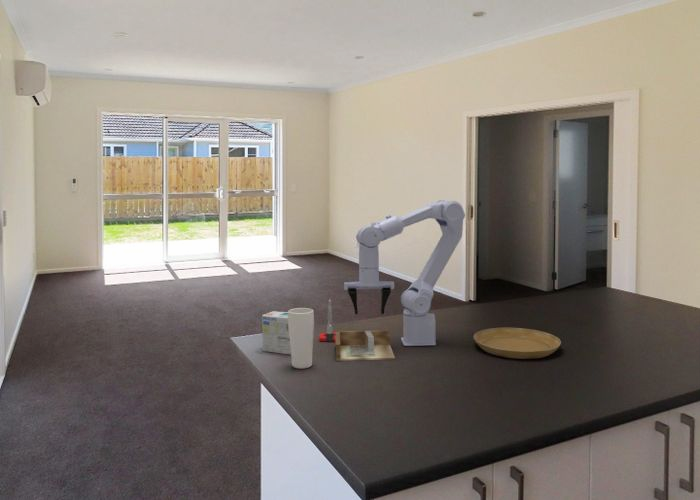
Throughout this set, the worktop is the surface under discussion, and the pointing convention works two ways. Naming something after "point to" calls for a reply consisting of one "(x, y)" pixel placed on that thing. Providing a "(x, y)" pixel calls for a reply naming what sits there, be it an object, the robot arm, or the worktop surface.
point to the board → (379, 354)
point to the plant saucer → (517, 342)
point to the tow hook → (328, 328)
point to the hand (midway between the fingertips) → (369, 313)
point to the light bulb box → (276, 332)
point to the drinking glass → (301, 336)
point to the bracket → (364, 346)
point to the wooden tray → (360, 338)
